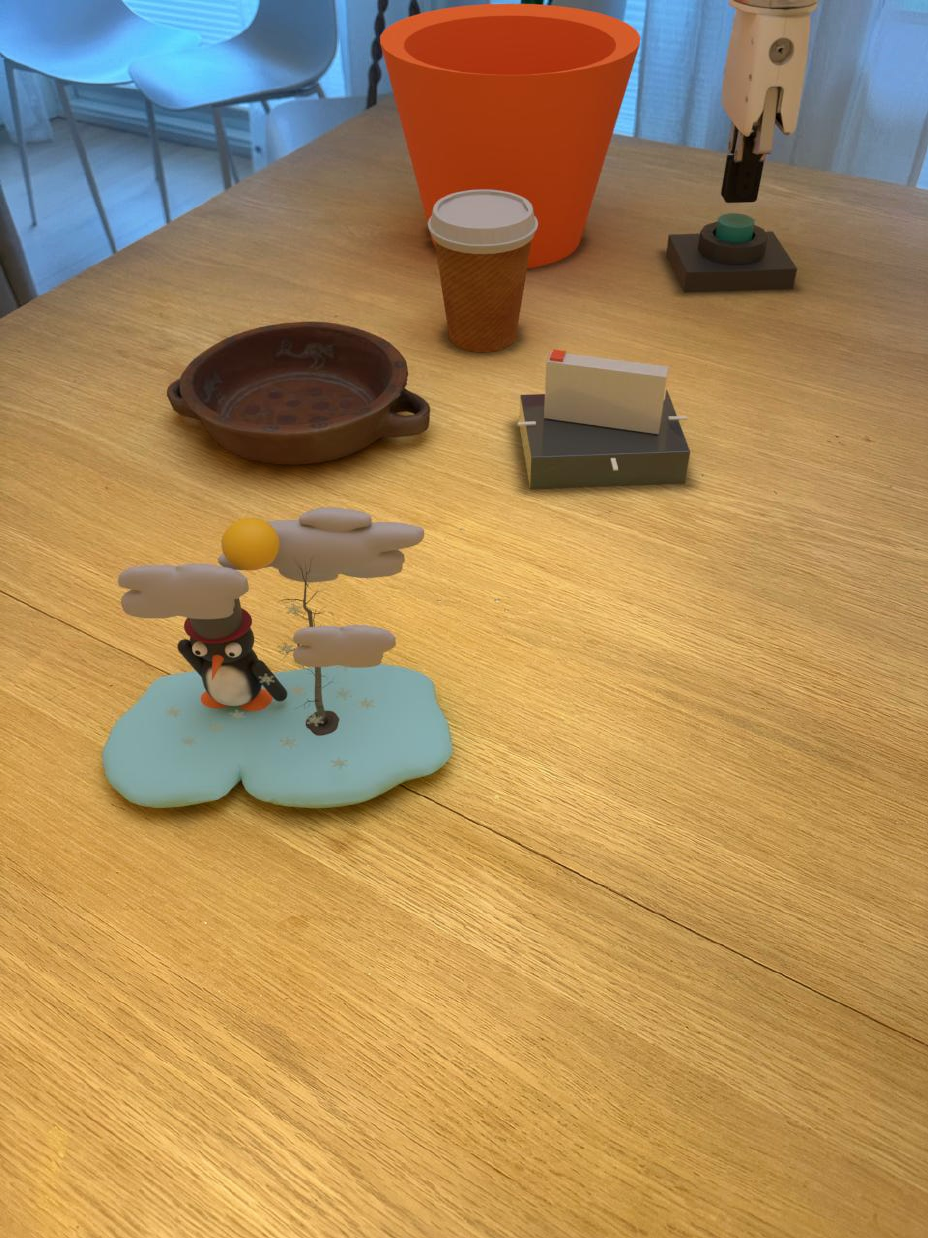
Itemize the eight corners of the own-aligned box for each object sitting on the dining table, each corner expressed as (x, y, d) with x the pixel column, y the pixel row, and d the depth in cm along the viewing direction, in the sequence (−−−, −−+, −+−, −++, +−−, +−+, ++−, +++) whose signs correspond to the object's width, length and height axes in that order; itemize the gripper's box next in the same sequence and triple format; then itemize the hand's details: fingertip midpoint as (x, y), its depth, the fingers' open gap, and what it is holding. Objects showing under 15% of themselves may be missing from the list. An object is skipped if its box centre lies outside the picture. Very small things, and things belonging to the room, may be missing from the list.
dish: (208, 363, 95) (198, 311, 92) (449, 379, 93) (448, 327, 89) (136, 473, 82) (122, 418, 79) (413, 496, 80) (410, 440, 77)
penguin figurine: (90, 821, 58) (7, 620, 48) (135, 681, 66) (71, 482, 56) (452, 819, 58) (447, 617, 48) (454, 679, 66) (449, 480, 56)
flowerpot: (536, 178, 127) (544, -8, 114) (669, 253, 111) (695, 46, 98) (351, 223, 118) (335, 25, 104) (467, 311, 102) (465, 92, 89)
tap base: (665, 407, 89) (669, 373, 87) (699, 500, 79) (705, 465, 77) (509, 412, 89) (510, 379, 86) (524, 506, 79) (526, 472, 77)
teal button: (746, 229, 107) (749, 212, 106) (755, 244, 104) (758, 226, 103) (711, 230, 107) (714, 213, 106) (719, 245, 104) (722, 228, 103)
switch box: (768, 251, 111) (776, 213, 109) (792, 289, 105) (801, 250, 102) (666, 254, 111) (670, 216, 108) (683, 293, 105) (689, 254, 102)
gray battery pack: (661, 423, 82) (669, 363, 78) (658, 434, 80) (667, 373, 77) (547, 407, 83) (551, 347, 80) (543, 418, 82) (546, 358, 79)
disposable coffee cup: (516, 368, 94) (520, 237, 86) (416, 352, 96) (411, 222, 88) (545, 320, 100) (551, 194, 92) (451, 306, 103) (448, 181, 95)
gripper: (846, 7, 85) (797, 229, 98) (794, -36, 96) (756, 170, 109) (754, 9, 85) (717, 232, 98) (712, -34, 96) (684, 171, 108)
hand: (738, 198), depth 103 cm, fingers closed
